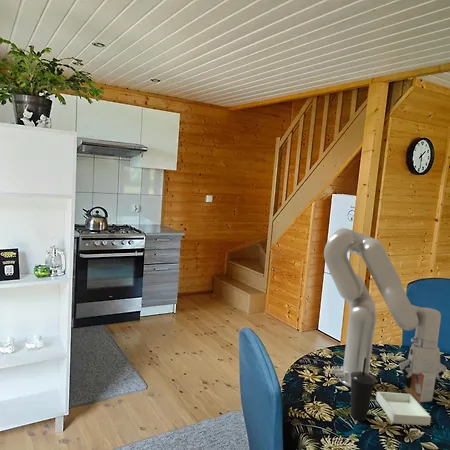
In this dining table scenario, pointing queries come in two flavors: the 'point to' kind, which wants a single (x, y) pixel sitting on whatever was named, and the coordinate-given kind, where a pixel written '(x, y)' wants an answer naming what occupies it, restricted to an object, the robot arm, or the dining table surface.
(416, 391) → the small box
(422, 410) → the tray
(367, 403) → the drinking cup
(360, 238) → the robot arm
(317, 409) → the dining table surface
